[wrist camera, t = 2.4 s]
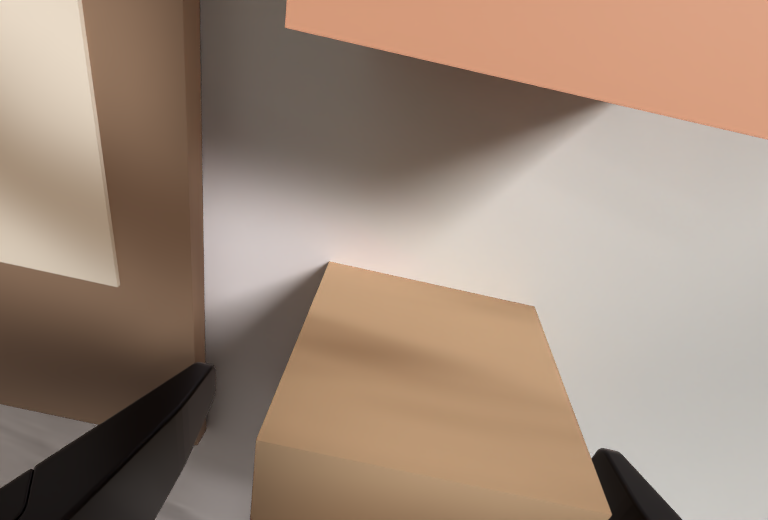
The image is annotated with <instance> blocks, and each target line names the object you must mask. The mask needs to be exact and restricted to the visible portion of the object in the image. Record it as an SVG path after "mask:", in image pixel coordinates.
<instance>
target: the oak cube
mask: <svg viewBox="0 0 768 520" xmlns="http://www.w3.org/2000/svg"><path fill="white" fill-rule="evenodd" d="M611 516H612V513H611V510H610V508H609V505H608V502H607V500H606V497H605V494H604V492H603V489H602V486H601V484H600V481H599V478H598V476H597V473H596V470H595V468H594V465H593V462H592V460H591V457H590V454H589V452H588V449H587V446H586V444H585V441H584V438H583V435H582V433H581V430H580V427H579V425H578V422H577V419H576V417H575V414H574V411H573V409H572V406H571V403H570V401H569V398H568V395H567V393H566V390H565V387H564V385H563V382H562V379H561V377H560V374H559V371H558V369H557V366H556V363H555V361H554V358H553V355H552V352H551V350H550V347H549V344H548V342H547V339H546V336H545V334H544V331H543V328H542V326H541V323H540V320H539V318H538V315H537V312H536V310H535V307H534V306H529V305H525V304H520V303H516V302H511V301H506V300H502V299H497V298H493V297H488V296H484V295H479V294H475V293H470V292H466V291H461V290H456V289H452V288H447V287H443V286H438V285H434V284H429V283H425V282H420V281H416V280H411V279H406V278H402V277H397V276H393V275H388V274H384V273H379V272H375V271H370V270H366V269H361V268H357V267H352V266H347V265H343V264H338V263H334V262H329V263H328V266H327V268H326V271H325V273H324V276H323V278H322V280H321V283H320V285H319V288H318V290H317V293H316V295H315V297H314V300H313V302H312V305H311V307H310V310H309V312H308V315H307V317H306V319H305V322H304V324H303V327H302V329H301V332H300V334H299V336H298V339H297V341H296V344H295V346H294V349H293V351H292V353H291V356H290V358H289V361H288V363H287V366H286V368H285V371H284V373H283V375H282V378H281V380H280V383H279V385H278V388H277V390H276V392H275V395H274V397H273V400H272V402H271V405H270V407H269V410H268V412H267V414H266V417H265V419H264V422H263V424H262V427H261V429H260V431H259V434H258V436H257V439H256V446H255V460H254V474H253V487H252V501H251V514H250V520H608V519H609V518H610V517H611Z"/></svg>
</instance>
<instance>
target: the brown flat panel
mask: <svg viewBox="0 0 768 520" xmlns="http://www.w3.org/2000/svg"><path fill="white" fill-rule="evenodd" d="M196 362H202V363H205V310H204V248H203V186H202V124H201V62H200V0H0V404H3V405H7V406H12V407H17V408H22V409H27V410H31V411H36V412H41V413H46V414H50V415H55V416H60V417H65V418H69V419H74V420H79V421H84V422H88V423H93V424H98V425H99V424H101V423H102V422H104V421H106V420H107V419H109V418H110V417H112V416H113V415H115V414H116V413H118V412H119V411H121V410H122V409H124V408H126V407H127V406H129V405H130V404H132V403H133V402H135V401H136V400H138V399H139V398H141V397H143V396H144V395H146V394H147V393H149V392H150V391H152V390H153V389H155V388H156V387H158V386H160V385H161V384H163V383H164V382H166V381H167V380H169V379H170V378H172V377H173V376H175V375H177V374H178V373H180V372H181V371H183V370H184V369H186V368H187V367H189V366H190V365H192V364H194V363H196ZM205 431H206V418H205V420H204V423H203V425H202V427H201V430H200V432H199V434H198V437H197V439H196V441H195V444H194V445H198V443H199V442H200V440H201V438H202V436H203V434H204V432H205Z"/></svg>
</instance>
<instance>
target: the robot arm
mask: <svg viewBox="0 0 768 520" xmlns="http://www.w3.org/2000/svg"><path fill="white" fill-rule="evenodd" d="M215 391H216V369H215V366H214V365H212V364H207V363H202V362H196V363H194V364H192V365H190V366H189V367H187V368H186V369H184V370H183V371H181V372H180V373H178V374H177V375H175V376H173V377H172V378H170V379H169V380H167V381H166V382H164V383H163V384H161V385H160V386H158V387H156V388H155V389H153V390H152V391H150V392H149V393H147V394H146V395H144V396H143V397H141V398H139V399H138V400H136V401H135V402H133V403H132V404H130V405H129V406H127V407H126V408H124V409H122V410H121V411H119V412H118V413H116V414H115V415H113V416H112V417H110V418H109V419H107V420H106V421H104V422H102V423H101V424H99V425H98V426H96V427H95V428H93V429H92V430H90V431H89V432H87V433H85V434H84V435H82V436H81V437H79V438H78V439H76V440H75V441H73V442H72V443H70V444H68V445H67V446H65V447H64V448H62V449H61V450H59V451H58V452H56V453H55V454H53V455H51V456H50V457H48V458H47V459H45V460H44V461H42V462H41V463H39V464H38V465H36V466H35V468H34V470H33V469H30V470H28V471H27V472H25V473H23V474H22V475H20V476H19V477H17V478H16V479H14V480H13V481H11V482H10V483H8V484H6V485H5V486H3V487H2V488H0V520H155V518H156V516H157V514H158V513H159V511H160V509H161V507H162V505H163V504H164V502H165V500H166V498H167V497H168V495H169V493H170V491H171V489H172V488H173V486H174V484H175V482H176V481H177V479H178V477H179V475H180V473H181V471H182V470H183V468H184V466H185V464H186V462H187V459H188V457H189V455H190V453H191V451H192V448H193V446H194V444H195V441H196V439H197V437H198V434H199V432H200V430H201V427H202V425H203V423H204V420H205V418H206V416H207V413H208V411H209V409H210V406H211V404H212V402H213V399H214V396H215ZM591 460H592V462H593V465H594V468H595V470H596V473H597V476H598V478H599V481H600V484H601V486H602V489H603V492H604V494H605V497H606V500H607V502H608V505H609V508H610V510H611V513H612V516H611V517H610V518H609V519H608V520H682V519H681V518H680V517H679V515H678V514H677V513H676V512H675V511H674V510H673V509H672V508H671V507H670V506H669V505H668V504H667V503H666V501H665V500H664V499H663V498H662V497H661V496H660V495H659V494H658V493H657V492H656V491H655V490H654V488H653V487H652V486H651V485H650V484H649V483H648V482H647V481H646V480H645V479H644V478H643V477H642V476H641V474H640V473H639V472H638V471H637V470H636V469H635V468H634V467H633V466H632V465H631V464H630V463H629V462H628V460H627V459H626V458H625V457H624V456H623V455H622V454H621V453H619V452H617V451H614V450H610V449H605V448H601V449H599V450H597V452H596V453H595V454H594V456H593V457H592V459H591Z"/></svg>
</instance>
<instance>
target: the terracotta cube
mask: <svg viewBox="0 0 768 520" xmlns="http://www.w3.org/2000/svg"><path fill="white" fill-rule="evenodd" d="M285 28H288V29H293V30H297V31H301V32H306V33H310V34H314V35H319V36H323V37H327V38H332V39H336V40H340V41H345V42H349V43H353V44H358V45H362V46H366V47H370V48H375V49H379V50H383V51H388V52H392V53H396V54H401V55H405V56H409V57H414V58H418V59H422V60H427V61H431V62H435V63H440V64H444V65H448V66H453V67H457V68H461V69H465V70H470V71H474V72H478V73H483V74H487V75H491V76H496V77H500V78H504V79H509V80H513V81H517V82H522V83H526V84H530V85H535V86H539V87H543V88H548V89H552V90H556V91H560V92H565V93H569V94H573V95H578V96H582V97H586V98H591V99H595V100H599V101H604V102H608V103H612V104H617V105H621V106H625V107H630V108H634V109H638V110H642V111H647V112H651V113H655V114H660V115H664V116H668V117H673V118H677V119H681V120H686V121H690V122H694V123H699V124H703V125H707V126H712V127H716V128H720V129H725V130H729V131H733V132H737V133H742V134H746V135H750V136H755V137H759V138H763V139H768V0H287V4H286V18H285Z"/></svg>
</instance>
